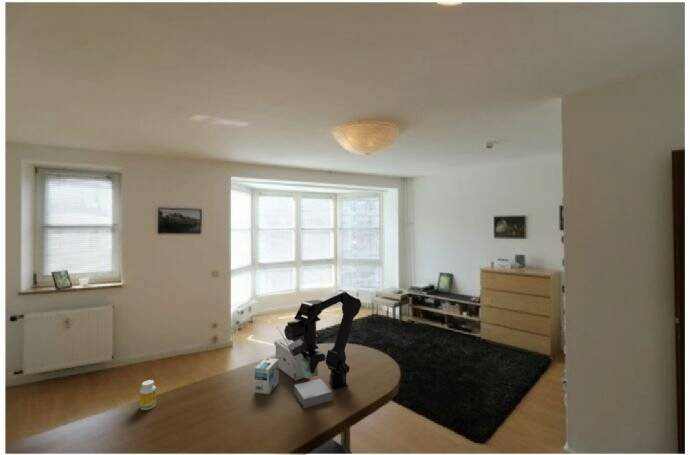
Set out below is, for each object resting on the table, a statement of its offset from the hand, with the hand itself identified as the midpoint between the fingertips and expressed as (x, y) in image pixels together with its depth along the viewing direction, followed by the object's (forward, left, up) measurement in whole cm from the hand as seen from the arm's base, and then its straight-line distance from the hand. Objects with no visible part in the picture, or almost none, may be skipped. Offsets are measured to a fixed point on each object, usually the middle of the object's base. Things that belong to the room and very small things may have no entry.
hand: (309, 370), depth 133 cm
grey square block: (-2, -1, -12) cm, 12 cm away
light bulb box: (+13, -17, -12) cm, 25 cm away
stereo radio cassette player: (-1, -26, -12) cm, 28 cm away
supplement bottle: (+58, -24, -12) cm, 64 cm away
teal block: (0, 0, -2) cm, 2 cm away
